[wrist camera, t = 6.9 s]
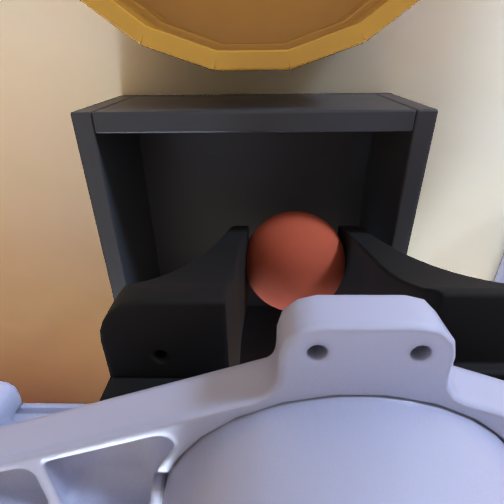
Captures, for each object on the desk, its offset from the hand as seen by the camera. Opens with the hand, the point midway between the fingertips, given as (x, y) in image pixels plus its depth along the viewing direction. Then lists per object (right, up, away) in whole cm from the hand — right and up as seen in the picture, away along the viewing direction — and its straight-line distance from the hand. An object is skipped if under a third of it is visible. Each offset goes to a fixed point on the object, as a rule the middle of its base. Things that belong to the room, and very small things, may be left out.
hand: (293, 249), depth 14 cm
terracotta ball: (0, 0, -1) cm, 1 cm away
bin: (-1, +1, +3) cm, 3 cm away
